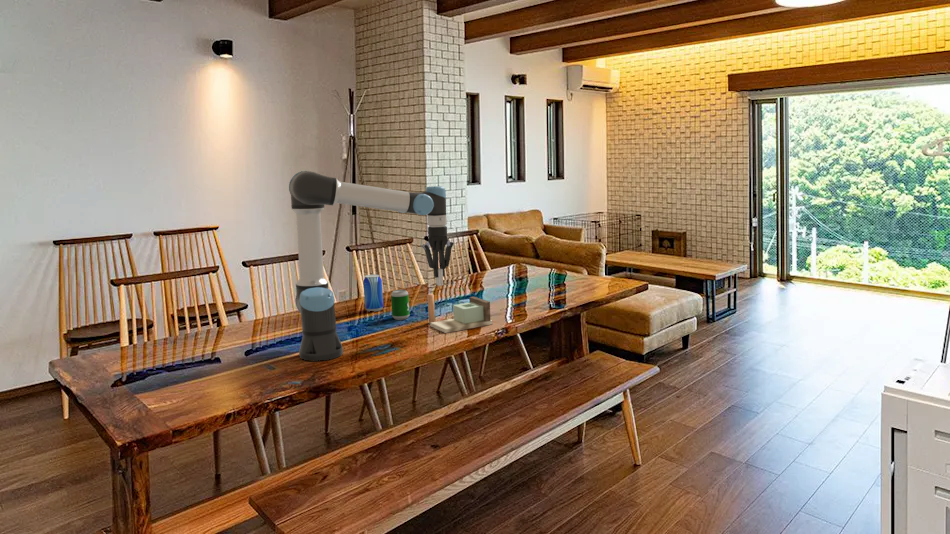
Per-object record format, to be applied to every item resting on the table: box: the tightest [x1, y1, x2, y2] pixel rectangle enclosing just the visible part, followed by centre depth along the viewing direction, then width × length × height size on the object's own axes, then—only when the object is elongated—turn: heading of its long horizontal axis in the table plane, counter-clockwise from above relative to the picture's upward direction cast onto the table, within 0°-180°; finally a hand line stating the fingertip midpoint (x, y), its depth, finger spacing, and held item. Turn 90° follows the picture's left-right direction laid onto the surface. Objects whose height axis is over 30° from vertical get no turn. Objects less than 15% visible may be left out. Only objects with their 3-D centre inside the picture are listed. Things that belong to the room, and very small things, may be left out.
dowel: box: [427, 293, 436, 325], centre depth 265 cm, size 3×3×12 cm
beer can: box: [362, 274, 384, 312], centre depth 293 cm, size 8×8×16 cm
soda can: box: [390, 289, 411, 321], centre depth 276 cm, size 8×8×12 cm
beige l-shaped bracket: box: [429, 296, 494, 334], centre depth 260 cm, size 22×13×10 cm, turn 120°
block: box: [452, 301, 484, 324], centre depth 262 cm, size 9×9×6 cm
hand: (439, 284), depth 253 cm, fingers closed
